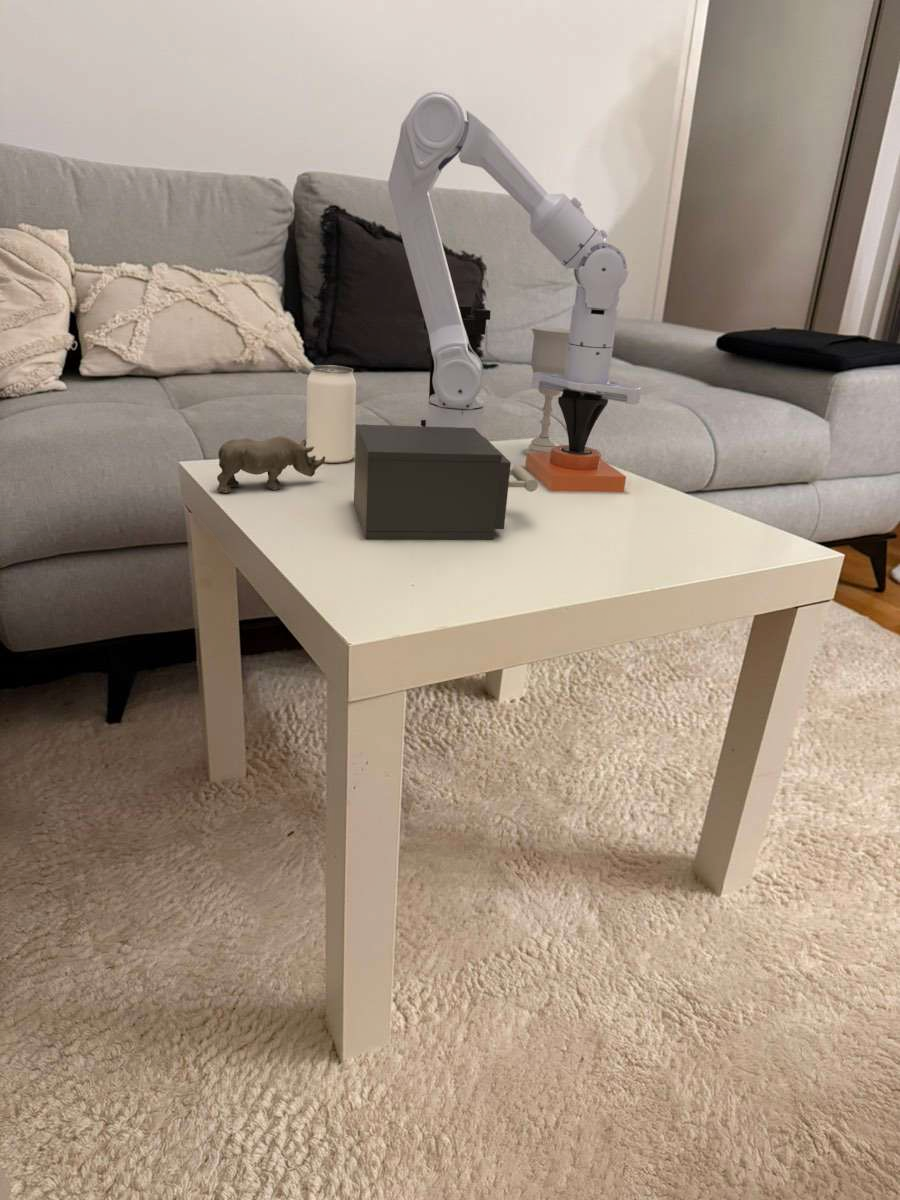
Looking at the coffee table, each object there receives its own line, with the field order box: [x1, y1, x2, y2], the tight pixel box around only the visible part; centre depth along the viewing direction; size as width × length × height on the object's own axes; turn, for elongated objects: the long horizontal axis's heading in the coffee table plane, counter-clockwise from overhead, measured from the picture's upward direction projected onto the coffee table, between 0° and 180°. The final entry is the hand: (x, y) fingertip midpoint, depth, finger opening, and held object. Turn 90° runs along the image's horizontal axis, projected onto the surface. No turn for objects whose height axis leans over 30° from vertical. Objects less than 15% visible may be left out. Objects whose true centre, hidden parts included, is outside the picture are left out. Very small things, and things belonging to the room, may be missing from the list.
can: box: [306, 364, 357, 464], centre depth 114 cm, size 6×6×12 cm
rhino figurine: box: [216, 436, 325, 494], centre depth 101 cm, size 4×14×6 cm, turn 120°
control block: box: [524, 444, 627, 493], centre depth 115 cm, size 12×10×4 cm
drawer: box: [483, 436, 539, 530], centre depth 93 cm, size 17×11×7 cm
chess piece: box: [420, 304, 492, 427], centre depth 121 cm, size 8×8×20 cm
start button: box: [563, 447, 590, 455], centre depth 114 cm, size 4×4×2 cm
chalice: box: [525, 326, 570, 454], centre depth 124 cm, size 7×7×18 cm
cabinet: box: [353, 423, 502, 540], centre depth 92 cm, size 14×13×9 cm
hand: (576, 450), depth 114 cm, fingers closed, pressing on start button
